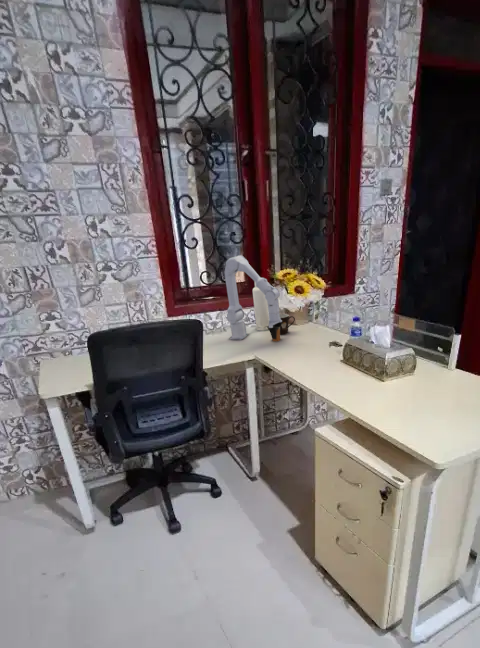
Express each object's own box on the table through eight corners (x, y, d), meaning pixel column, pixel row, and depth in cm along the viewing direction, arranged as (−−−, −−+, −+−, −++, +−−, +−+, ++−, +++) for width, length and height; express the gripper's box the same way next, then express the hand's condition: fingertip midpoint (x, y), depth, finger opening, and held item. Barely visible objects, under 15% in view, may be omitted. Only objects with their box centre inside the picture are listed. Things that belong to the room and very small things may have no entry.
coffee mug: (274, 335, 235) (272, 318, 231) (276, 331, 243) (274, 314, 238) (294, 334, 234) (293, 317, 229) (295, 330, 241) (294, 313, 236)
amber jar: (273, 338, 231) (272, 325, 227) (281, 338, 229) (280, 325, 225) (271, 341, 227) (269, 327, 223) (279, 341, 225) (278, 328, 222)
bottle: (270, 326, 253) (266, 278, 239) (268, 330, 246) (264, 281, 232) (257, 326, 254) (252, 279, 241) (255, 330, 247) (250, 282, 234)
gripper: (276, 316, 213) (278, 341, 220) (285, 308, 225) (286, 333, 232) (263, 315, 215) (266, 341, 222) (272, 308, 227) (274, 332, 234)
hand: (276, 337), depth 227 cm, fingers open, 5 cm apart
